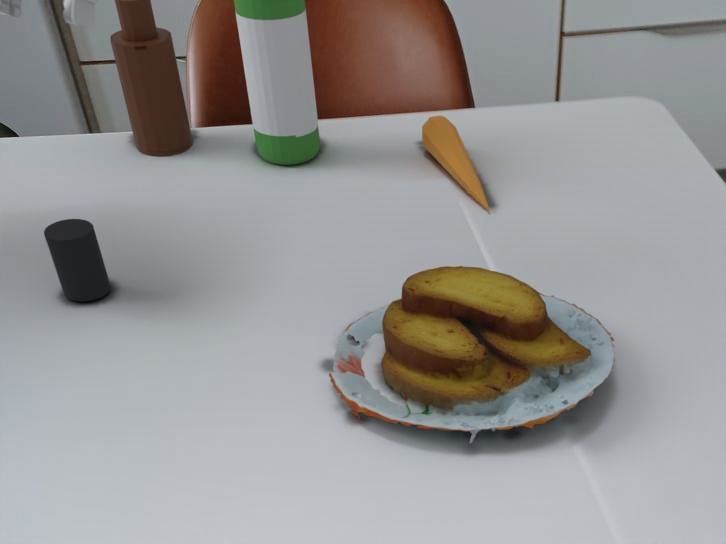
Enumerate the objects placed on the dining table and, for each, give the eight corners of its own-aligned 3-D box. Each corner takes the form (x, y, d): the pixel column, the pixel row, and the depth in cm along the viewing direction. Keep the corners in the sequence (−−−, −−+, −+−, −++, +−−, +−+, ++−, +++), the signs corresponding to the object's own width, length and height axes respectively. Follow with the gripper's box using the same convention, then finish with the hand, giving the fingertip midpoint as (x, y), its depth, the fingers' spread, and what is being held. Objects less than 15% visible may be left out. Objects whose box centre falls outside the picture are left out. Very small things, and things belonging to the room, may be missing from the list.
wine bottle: (256, 144, 120) (209, -165, 98) (319, 140, 121) (285, -167, 99) (258, 169, 115) (208, -151, 93) (323, 165, 116) (289, -152, 94)
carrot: (424, 153, 121) (411, 121, 117) (456, 135, 120) (443, 102, 116) (479, 238, 110) (466, 206, 106) (514, 219, 109) (502, 185, 105)
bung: (66, 315, 92) (41, 242, 87) (69, 292, 95) (45, 220, 90) (113, 310, 93) (92, 237, 88) (115, 288, 96) (94, 216, 90)
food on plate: (337, 472, 77) (328, 402, 72) (324, 314, 93) (316, 248, 88) (646, 445, 79) (658, 375, 74) (580, 296, 96) (586, 231, 91)
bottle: (136, 158, 117) (99, 6, 105) (137, 136, 122) (101, -12, 110) (193, 153, 118) (162, 2, 106) (192, 132, 123) (162, -15, 111)
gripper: (-76, -208, 75) (-70, -2, 80) (94, -211, 66) (87, 20, 72) (0, -172, 80) (0, 19, 86) (167, -170, 71) (155, 42, 77)
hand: (41, 20), depth 79 cm, fingers open, 8 cm apart
